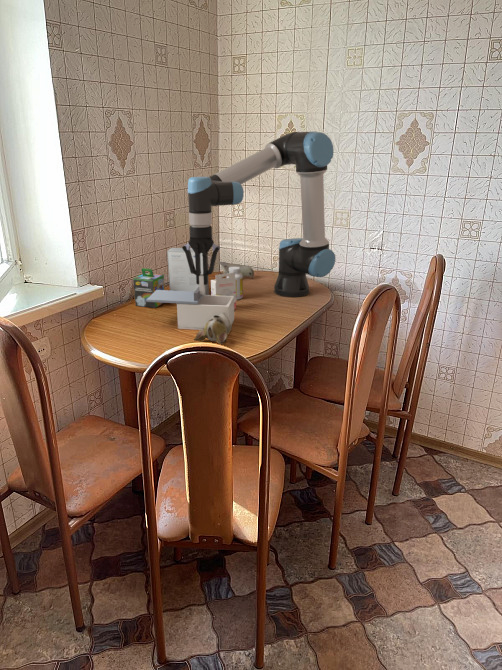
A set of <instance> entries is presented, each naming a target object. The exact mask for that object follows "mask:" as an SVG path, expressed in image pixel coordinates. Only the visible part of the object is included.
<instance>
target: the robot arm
mask: <svg viewBox="0 0 502 670" xmlns="http://www.w3.org/2000/svg"><path fill="white" fill-rule="evenodd" d="M334 153H335V149H334V145H333V142H332V140H331V138H330V137H329V135H327V133H326V134H325V133H324V132H322V131H321V132H320V131H316V130H315V131H292V132H289V133H287V134H285V135H282V136H280V137H278V138H276V139H274V140H273V141H270V142H269V143H267V144H266V145H265V146H264V148H263V149H261V150H259V151H257V152H255V153H253V154H250V156H247V157H246V158H244V159H242V160H240V161H237V162H235V163H234V164H232V165H229V166H228V167H226V168H224V169H222V170H220V171H218V172H217V173H214V174H212V175H210V176H192V177H191V176H190V178H188V182H187V195H188V196H187V198H188V199H187V200H188V224H189V240H188V243H187V244H184V245H182V247H181V248H182V249H183V250H184V252H185V253H186V257H187V261H188V264H189V268H190V272H191V273H192V274H195V275H196V283H197V284H199V290H200V294H205V285H207V284H208V281H209V275H212V274H213V272H214V270H215V263H216V260H217V256H218V252H219V250H220V249H221V246H220V245H216V244H215V242H214V240H213V239H214V238H213V226H212V223H213V219H212V218H213V217H212V214H213V213H212V210H213V209H212V208H213V207H221V206H234V205H239V204H240V203H242V202H243V200H244V187H243V186H242V185H243V184H245V183H246V182H248V181H251V180H252V179H254V178H257V176H260V175H262V174H263V173H266V172H267V171H270V170H271V169H279V168H281V167H283V166H288V165H294V166H295V173H296V174H298V176H299V178H300V200H301V220H302V221H301V222H302V225H301V227H302V238H301V237H297V238H295V237H294V238H286V239H282V240H280V241H279V245H278V246H279V248H278V276H277V277H276V281H275V283H274V287H273V292H274V294H276V295H278V296H281V297H288V298H296V297H297V298H298V297H303V296H304V297H305V296H307V295H309V294H310V286H309V281H308V279H307V278H308V277H307V275H309V276H310V277H314V278H315V277H316V278H323V277H325V276H326V277H327V275H329V274H330V273H331V271H332V270H333V268H334V267H335V264H336V254H335V252H333V250H332V249H330V241H329V239H327V238H326V227H325V226H326V225H325V221H326V220H325V186H324V184H325V183H324V181H325V180H324V174H325V173H326V172H327V171H328V165H329V164H330V163H331V162H332V159H333V157H334ZM190 248H192V249H193V251H194V252H195V263H196V270H195V266H194V262H193V259H192V255H191V251H190ZM211 248H212V254H211V259H210V264H209V260H208V259H209V258H208V255H209V251H210V250H211ZM201 253H202V256H203V274H201V275H200V273H201V263H200V254H201Z"/></svg>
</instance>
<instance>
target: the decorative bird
mask: <svg viewBox="0 0 502 670" xmlns="http://www.w3.org/2000/svg"><path fill="white" fill-rule="evenodd" d="M218 264H219V265H221V269H222V272H219V273H218V272H217V275H219V274H226V273H229V267H240V273H241V274H242V276H243V278H245V277H249V278H250V279H252V280H254V275H255V271H254V269H253V268H252V266H249V265H242V264H239V263H230V262H227V261H219V260H218Z"/></svg>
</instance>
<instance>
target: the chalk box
mask: <svg viewBox="0 0 502 670" xmlns="http://www.w3.org/2000/svg"><path fill="white" fill-rule="evenodd" d="M141 273H142V274H139V275H137V276H135V277H134V278H133V279H132V282H133V293H134V302H135V307H144V308H151V309H156V308H157V307H159V306H161V305H162V304H163V303H161V302H146V299H147V298H149V297H150V296H151V295H152V294H153V293H154V292H155V291H156V290H166V287H165V276H164V275H165V274H162V273H154V270H153V268H146V267H145V268H144V267H143V268H142V267H141Z"/></svg>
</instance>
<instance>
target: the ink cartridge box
mask: <svg viewBox="0 0 502 670" xmlns="http://www.w3.org/2000/svg"><path fill="white" fill-rule="evenodd" d="M227 276H228V277H229V278H227ZM224 277H225V278H224ZM210 288H211V289H210V291H211V292H210V295H218V296H234V310H236V309H237V300H236V281H235V273H226V274H225V273H223V274H220V273H219V275H218V274H215V279H210Z"/></svg>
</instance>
